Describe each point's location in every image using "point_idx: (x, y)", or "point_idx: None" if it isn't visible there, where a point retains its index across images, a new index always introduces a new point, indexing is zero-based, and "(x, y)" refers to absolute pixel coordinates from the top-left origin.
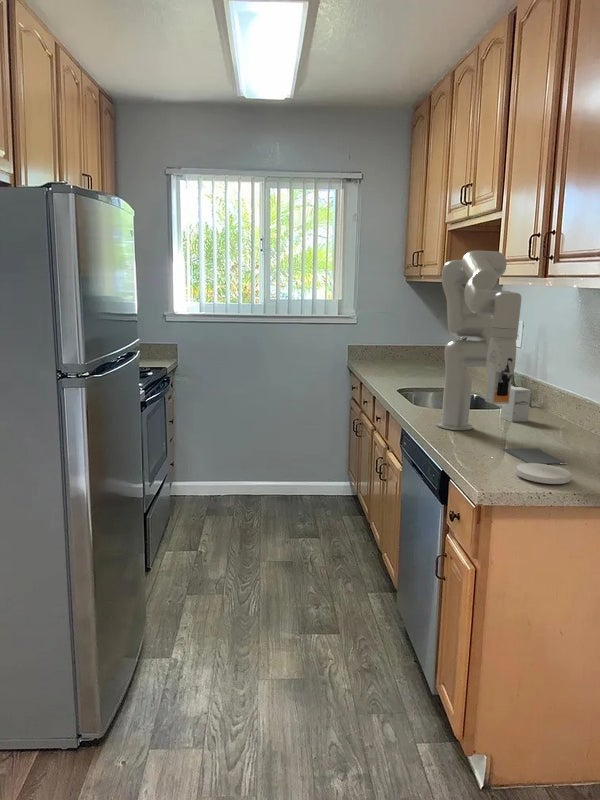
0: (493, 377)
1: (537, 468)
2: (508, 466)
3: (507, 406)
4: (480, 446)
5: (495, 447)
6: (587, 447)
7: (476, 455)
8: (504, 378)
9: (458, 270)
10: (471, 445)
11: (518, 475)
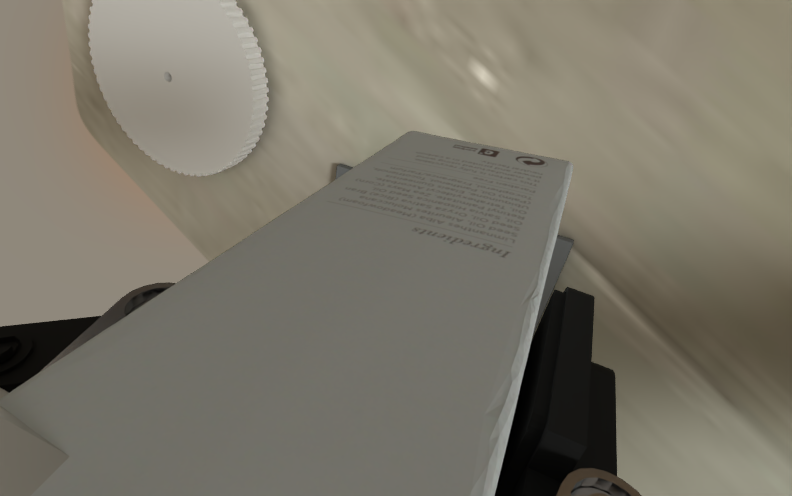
0: (229, 301)
1: (189, 73)
2: (334, 47)
3: None
4: (700, 179)
5: (636, 244)
6: None
7: (545, 6)
8: (49, 340)
9: None
10: (753, 139)
11: None
